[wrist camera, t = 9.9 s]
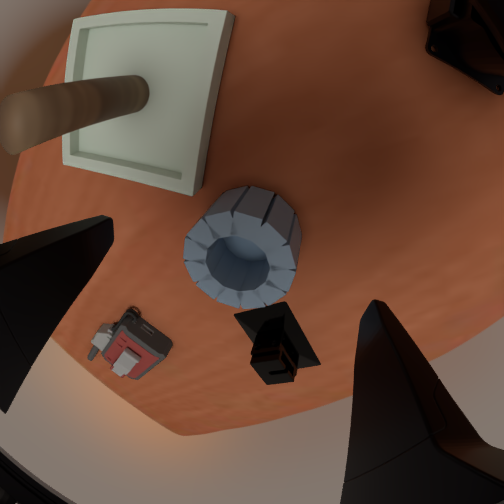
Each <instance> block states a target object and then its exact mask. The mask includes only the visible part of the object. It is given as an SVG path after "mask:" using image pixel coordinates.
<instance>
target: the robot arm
mask: <svg viewBox="0 0 504 504" xmlns="http://www.w3.org/2000/svg"><path fill="white" fill-rule="evenodd" d="M427 24H428V26H430V29H429V34H428V38H427V43H426V51H427V52H428V54H430V55H431V56H433V57H435V58H437V59H439V60H441V61H443V62H444V63H446V64H448V65H450V66H452V67H453V68H455V69H457V70H459V71H460V72H462V73H464V74H465V75H467V76H469V77H470V78H472V79H473V80H475V81H477V82H478V83H480V84H481V85H483V86H484V87H486V88H487V89H489V90H490V91H492V92H493V93H494V94H497V95H502V94H503V92H504V0H431V2H430V7H429V12H428V17H427ZM431 46H434V47H435V49H436V52H433V51H432V50H431ZM497 85H498V87H499V90H498V91H497V89H496V86H497ZM113 241H114V228H113V220H112V218H111V217H108V216H104V215H100V216H96V217H92V218H88V219H84V220H81V221H77V222H73V223H69V224H66V225H62V226H59V227H55V228H52V229H48V230H45V231H41V232H38V233H35V234H31V235H28V236H25V237H22V238H19V239H18V240H17V239H15V240H12V241H9V242H6V243H3V244H0V410H1V411H3V412H4V413H5V414H6V412H7V411H8V409H9V407H10V405H11V403H12V401H13V399H14V398H15V396H16V394H17V392H18V390H19V388H20V386H21V385H22V383H23V381H24V379H25V377H26V376H27V374H28V372H29V370H30V369H31V366H32V365H33V363H34V362H35V360H36V358H37V357H38V355H39V353H40V352H41V350H42V349H43V347H44V345H45V344H46V342H47V341H48V339H49V338H50V336H51V335H52V333H53V331H54V330H55V328H56V327H57V325H58V324H59V322H60V321H61V319H62V318H63V316H64V315H65V314H66V312H67V311H68V309H69V308H70V306H71V305H72V304H73V302H74V301H75V299H76V298H77V297H78V295H79V294H80V292H81V291H82V290H83V288H84V287H85V286H86V284H87V283H88V282H89V280H90V279H91V277H92V276H93V274H94V273H95V271H96V270H97V268H98V266H99V265H100V263H101V262H102V260H103V258H104V257H105V255H106V254H107V252H108V250H109V249H110V247H111V246H112V244H113ZM15 503H17V504H76V503H75V502H73V501H71V500H70V499H68V498H66V497H65V496H63V495H62V494H60V493H59V492H57V491H56V490H54V489H53V488H52V487H50V486H48V485H47V484H46V483H44V482H43V481H42V480H40V479H39V478H38V477H36V476H35V475H33V474H32V473H31V472H30V471H28V470H27V469H26V468H25V467H23V466H22V465H21V464H20V463H19V462H17V461H16V460H15V459H14V458H12V456H10V455H9V454H8V453H7V452H6V451H5V450H4V449H2V448H1V447H0V504H15ZM340 504H504V450H502V449H499V448H496V447H493V446H491V445H489V444H488V443H486V442H485V441H484V440H483V439H482V438H481V437H480V436H479V434H478V433H477V431H476V430H475V429H474V427H473V426H472V424H471V423H470V422H469V420H468V419H467V418H466V416H465V415H464V413H463V412H462V411H461V409H460V408H459V407H458V405H457V404H456V402H455V401H454V400H453V398H452V397H451V395H450V394H449V392H448V391H447V389H446V388H445V386H444V385H443V384H442V382H441V380H440V379H438V376H437V374H436V373H435V371H434V370H433V368H432V367H431V365H430V364H429V362H428V361H427V360H426V358H425V357H424V355H423V354H422V352H421V351H420V349H419V348H418V347H417V345H416V344H415V342H414V341H413V340H412V338H411V337H410V335H409V334H408V333H407V331H406V330H405V329H404V327H403V326H402V324H401V323H400V322H399V320H398V319H397V318H396V316H395V315H394V314H393V312H392V311H391V310H390V308H389V307H388V306H387V304H386V303H385V302H383V301H379V300H376V299H374V300H372V301H371V303H370V304H369V306H368V308H367V309H366V311H365V312H364V314H363V316H362V318H361V320H360V325H359V333H358V341H357V348H356V355H355V364H354V384H353V403H352V416H351V427H350V438H349V447H348V455H347V463H346V471H345V478H344V484H343V489H342V496H341V502H340Z"/></svg>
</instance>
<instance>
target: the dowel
mask: <svg viewBox="0 0 504 504" xmlns="http://www.w3.org/2000/svg"><path fill="white" fill-rule="evenodd" d="M149 93H150V92H149V86H148V84H147V82H146V80H145V79H144V78H142V77H141V76H138V75H126V76H113V77H103V78H94V79H86V80H79V81H73V82H66V83H61V84H55V85H50V86H45V87H40V88H36V89H31V90H27V91H23V92H19V93H15V94H12V95H8V96H7V97H5V98H4V99H3V101H2V102H1V104H0V142H1V144H2V146H3V148H4V149H5V150H6V152H8V153H9V154H11V155H15V154H17V153H20V152H22V151H24V150H27V149H29V148H31V147H34V146H36V145H38V144H41V143H43V142H46V141H48V140H51V139H53V138H56V137H59V136H61V135H64V134H67V133H70V132H72V131H75V130H78V129H81V128H84V127H87V126H90V125H93V124H97V123H100V122H103V121H106V120H110V119H113V118H117V117H120V116H124V115H128V114H132V113H136V112H138V111H140V110H142V109H143V108H144V107H145V105H146V104H147V102H148V99H149Z"/></svg>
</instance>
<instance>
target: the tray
mask: <svg viewBox="0 0 504 504" xmlns="http://www.w3.org/2000/svg"><path fill="white" fill-rule="evenodd" d="M234 19H235V16H234V15H233V14H231V13H230V12H228V11H226V10H212V9H147V10H133V11H123V12H114V13H106V14H100V15H93V16H88V17H82V18H77V19H74V20H73V25H72V30H71V36H70V42H69V49H68V56H67V64H66V73H65V83H66V82H73V81H79V80H86V79H94V78H103V77H113V76H126V75H138V76H141V77H142V78H144V79H145V80H146V82H147V84H148V86H149V92H150V93H149V99H148V102H147V104H146V105H145V107H144V108H143V109H142V110H140V111H138V112H136V113H132V114H128V115H124V116H120V117H117V118H113V119H110V120H106V121H103V122H100V123H97V124H93V125H90V126H87V127H84V128H81V129H78V130H75V131H72V132H70V133H67V134H64V135H62V150H63V164H64V165H69V166H73V167H77V168H82V169H86V170H90V171H95V172H99V173H103V174H107V175H111V176H115V177H120V178H124V179H128V180H132V181H136V182H140V183H143V184H147V185H151V186H155V187H159V188H163V189H167V190H170V191H174V192H178V193H182V194H185V195H189V196H193V195H195V194H196V193H197V192H198V191H199V190H200V189H201V188H202V183H203V176H204V170H205V163H206V157H207V151H208V145H209V139H210V134H211V128H212V122H213V117H214V112H215V106H216V101H217V96H218V91H219V86H220V81H221V76H222V72H223V67H224V62H225V58H226V53H227V49H228V45H229V40H230V36H231V32H232V28H233V24H234Z"/></svg>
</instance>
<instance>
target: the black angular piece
mask: <svg viewBox="0 0 504 504" xmlns="http://www.w3.org/2000/svg"><path fill="white" fill-rule="evenodd" d="M234 316H235V318H236V319H237V321H238V322H239V324H240V325H241V327H242V328H243V329H244V331H245V332H246V334H247V335H248V337H249V338H250V339H251V341H252V342H253V347H252V351H251V355H252V358H251V361H250V365H251V366H252V367H253V368H254V370H255V371H256V372H257V373H258V375H259V376H260V377H261V378H262V380H263V381H264V382H265V383H266V385H270V384H279V383H287V382H294V377H295V376H296V374H297V369H299V368H305V367H311V366H317V365H321V363H320V361H319V360H318V358H317V356H316V354H315V352H314V351H313V349H312V347H311V345H310V344H309V342H308V340H307V338H306V336H305V335H304V333H303V331H302V329H301V327H300V326H299V324H298V322H297V320H296V318H295V317H294V315H293V313H292V311H291V310H290V308H289V306H288V304H287V302H285V301H284V302H280V303H276V304H272V305H269V306H265V307H261V308H257V309H253V310H249V311H245V312H241V313H236V314H234Z"/></svg>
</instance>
